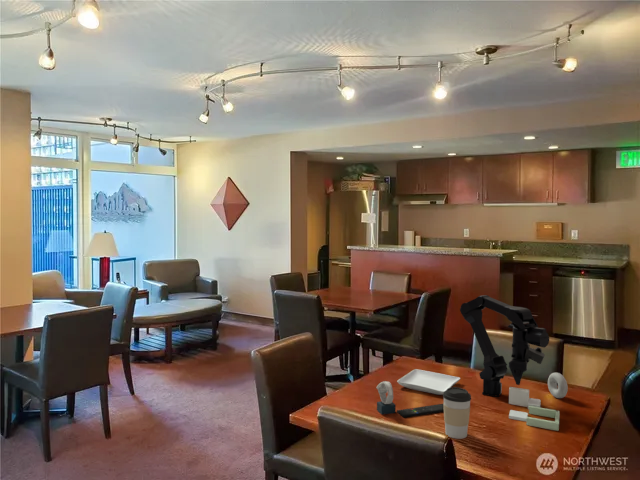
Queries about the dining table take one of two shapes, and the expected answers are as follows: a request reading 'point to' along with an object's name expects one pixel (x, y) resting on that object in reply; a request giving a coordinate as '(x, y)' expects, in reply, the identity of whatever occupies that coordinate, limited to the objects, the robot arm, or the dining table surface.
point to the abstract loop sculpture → (386, 403)
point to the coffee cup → (456, 412)
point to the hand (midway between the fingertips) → (519, 381)
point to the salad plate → (428, 381)
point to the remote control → (421, 410)
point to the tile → (518, 415)
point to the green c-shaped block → (541, 422)
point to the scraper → (522, 398)
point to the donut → (562, 385)
